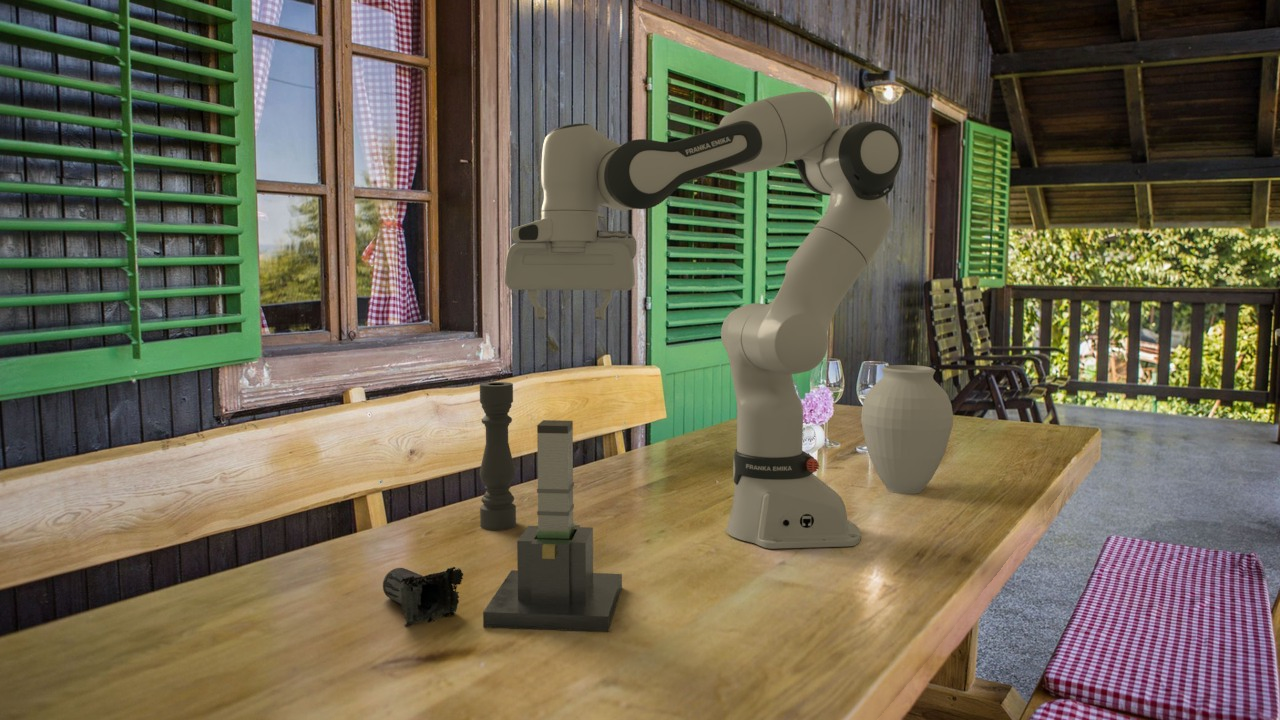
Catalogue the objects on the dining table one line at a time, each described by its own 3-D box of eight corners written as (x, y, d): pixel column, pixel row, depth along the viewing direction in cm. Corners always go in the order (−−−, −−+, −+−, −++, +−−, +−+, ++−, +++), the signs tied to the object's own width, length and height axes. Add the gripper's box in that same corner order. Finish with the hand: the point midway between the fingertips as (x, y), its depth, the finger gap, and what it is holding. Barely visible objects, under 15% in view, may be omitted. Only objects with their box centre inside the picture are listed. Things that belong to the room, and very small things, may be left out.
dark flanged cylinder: (459, 626, 124) (414, 605, 133) (466, 567, 124) (421, 550, 133) (396, 630, 118) (354, 608, 127) (404, 569, 118) (362, 551, 127)
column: (574, 543, 128) (573, 420, 126) (569, 553, 123) (568, 426, 121) (543, 542, 128) (542, 419, 126) (537, 552, 124) (535, 425, 122)
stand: (621, 587, 134) (621, 519, 133) (608, 631, 118) (608, 554, 117) (511, 583, 135) (510, 516, 134) (483, 627, 119) (482, 550, 118)
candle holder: (509, 531, 161) (507, 387, 158) (475, 529, 162) (472, 386, 159) (520, 521, 167) (519, 382, 164) (487, 519, 168) (485, 381, 166)
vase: (852, 495, 186) (856, 370, 183) (866, 476, 202) (869, 361, 199) (946, 504, 179) (951, 374, 176) (953, 484, 195) (957, 365, 193)
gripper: (638, 231, 148) (638, 318, 150) (510, 231, 150) (511, 317, 151) (634, 230, 142) (634, 321, 143) (501, 229, 144) (502, 320, 145)
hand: (570, 319), depth 147 cm, fingers open, 8 cm apart
